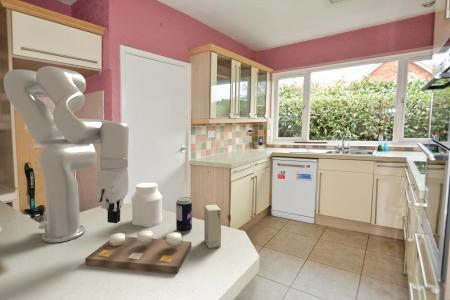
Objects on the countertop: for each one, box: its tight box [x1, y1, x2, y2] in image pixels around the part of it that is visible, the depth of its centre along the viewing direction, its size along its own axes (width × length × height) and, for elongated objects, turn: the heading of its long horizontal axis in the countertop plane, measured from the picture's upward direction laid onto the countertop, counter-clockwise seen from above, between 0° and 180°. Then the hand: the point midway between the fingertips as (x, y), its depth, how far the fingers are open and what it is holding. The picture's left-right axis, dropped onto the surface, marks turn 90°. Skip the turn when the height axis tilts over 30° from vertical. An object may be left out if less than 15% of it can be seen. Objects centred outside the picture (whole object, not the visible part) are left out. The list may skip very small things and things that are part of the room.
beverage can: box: [175, 196, 193, 234], centre depth 90 cm, size 6×6×12 cm
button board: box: [85, 236, 192, 275], centre depth 72 cm, size 26×14×2 cm, turn 83°
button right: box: [165, 231, 182, 246], centre depth 73 cm, size 4×4×2 cm
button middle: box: [136, 229, 154, 243], centre depth 74 cm, size 4×4×2 cm
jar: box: [131, 182, 163, 228], centre depth 98 cm, size 12×10×15 cm
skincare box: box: [203, 204, 222, 249], centre depth 80 cm, size 6×4×12 cm
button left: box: [108, 232, 126, 246], centre depth 75 cm, size 4×4×2 cm
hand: (113, 221), depth 75 cm, fingers closed
